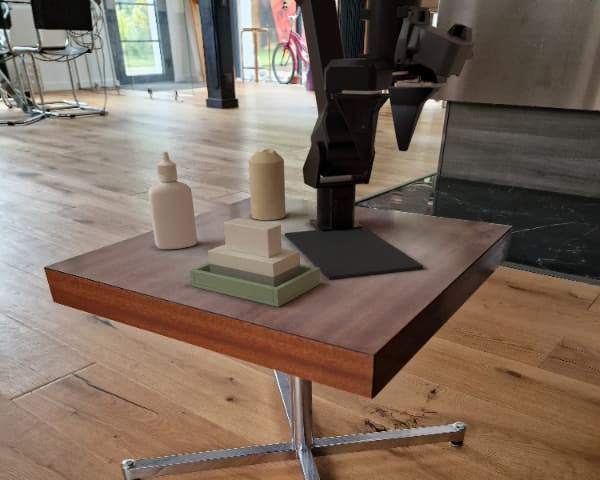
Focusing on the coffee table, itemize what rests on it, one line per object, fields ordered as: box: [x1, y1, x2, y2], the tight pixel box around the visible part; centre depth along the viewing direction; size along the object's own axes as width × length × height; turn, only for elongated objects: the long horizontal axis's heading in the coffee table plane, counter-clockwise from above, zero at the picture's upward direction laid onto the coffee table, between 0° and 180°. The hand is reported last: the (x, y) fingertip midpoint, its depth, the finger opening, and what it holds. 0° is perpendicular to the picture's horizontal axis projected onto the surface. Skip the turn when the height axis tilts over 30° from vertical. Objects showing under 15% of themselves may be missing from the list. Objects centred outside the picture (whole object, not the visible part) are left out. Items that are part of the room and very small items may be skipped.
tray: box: [189, 261, 321, 308], centre depth 64 cm, size 12×8×2 cm
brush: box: [207, 217, 301, 287], centre depth 63 cm, size 9×5×6 cm, turn 56°
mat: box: [284, 226, 424, 280], centre depth 75 cm, size 20×12×1 cm, turn 16°
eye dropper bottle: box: [147, 151, 198, 250], centre depth 76 cm, size 4×6×12 cm
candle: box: [248, 148, 286, 221], centre depth 90 cm, size 6×6×10 cm
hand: (385, 156), depth 68 cm, fingers open, 9 cm apart
